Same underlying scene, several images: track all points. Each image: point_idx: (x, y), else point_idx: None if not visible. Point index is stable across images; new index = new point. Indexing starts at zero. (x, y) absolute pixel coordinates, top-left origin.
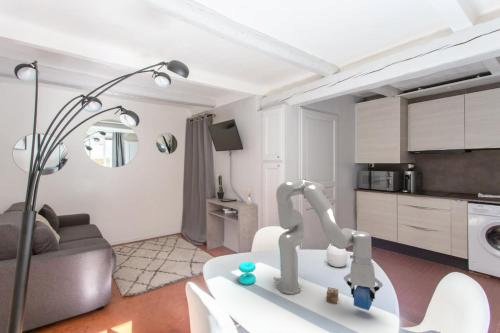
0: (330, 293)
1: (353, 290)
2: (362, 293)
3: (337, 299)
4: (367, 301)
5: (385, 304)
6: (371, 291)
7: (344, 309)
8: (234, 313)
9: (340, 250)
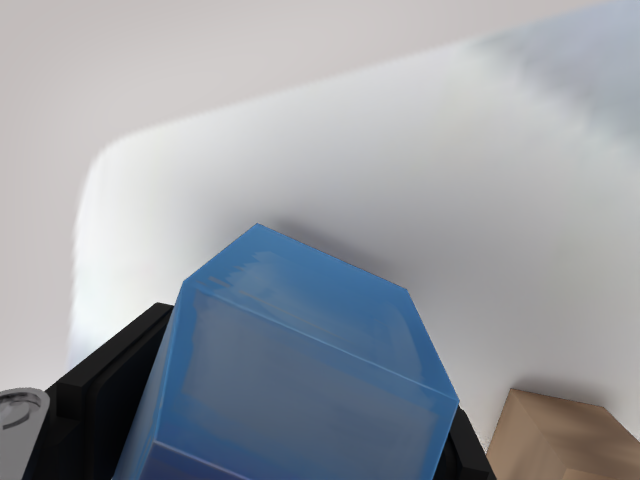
0: (638, 475)
1: (459, 446)
2: (286, 352)
3: (514, 431)
4: (233, 257)
5: None
6: (90, 446)
7: (460, 321)
8: None
9: None
